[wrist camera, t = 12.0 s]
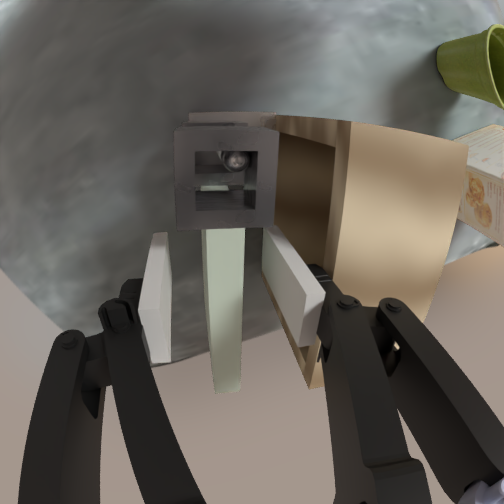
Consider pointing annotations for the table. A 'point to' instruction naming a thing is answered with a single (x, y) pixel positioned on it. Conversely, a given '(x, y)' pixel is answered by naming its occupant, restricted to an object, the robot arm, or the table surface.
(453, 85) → the plant pot
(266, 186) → the square frame paddle
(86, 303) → the table surface
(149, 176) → the table surface
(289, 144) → the cabinet
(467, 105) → the table surface
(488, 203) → the coffeecake box
